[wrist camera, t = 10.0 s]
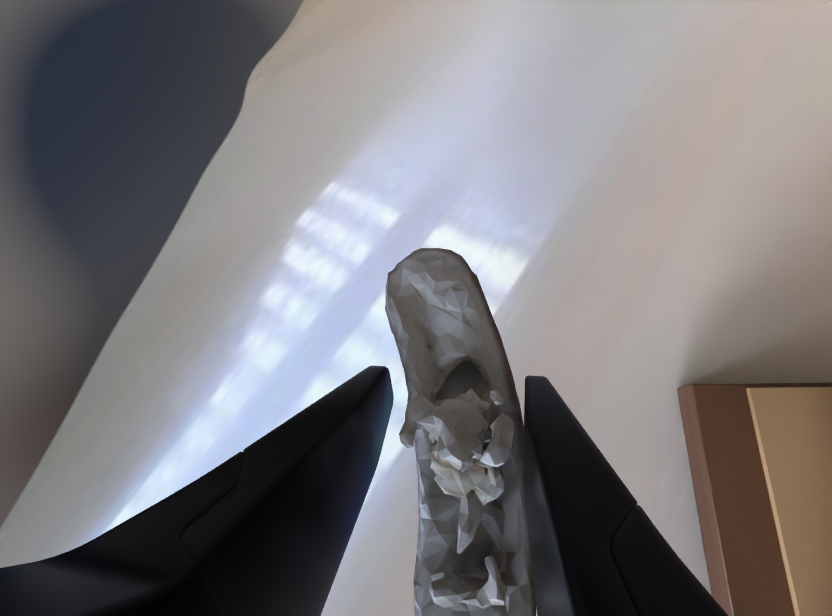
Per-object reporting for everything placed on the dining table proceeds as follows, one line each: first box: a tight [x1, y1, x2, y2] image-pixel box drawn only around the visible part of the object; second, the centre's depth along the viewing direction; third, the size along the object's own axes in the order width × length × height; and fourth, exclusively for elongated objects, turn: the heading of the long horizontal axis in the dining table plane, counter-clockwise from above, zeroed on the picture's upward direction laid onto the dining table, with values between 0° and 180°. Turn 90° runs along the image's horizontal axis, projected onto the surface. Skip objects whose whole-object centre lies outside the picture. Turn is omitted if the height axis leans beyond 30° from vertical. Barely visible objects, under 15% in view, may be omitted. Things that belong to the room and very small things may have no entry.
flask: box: [385, 248, 537, 616], centre depth 12 cm, size 9×3×11 cm, turn 6°
